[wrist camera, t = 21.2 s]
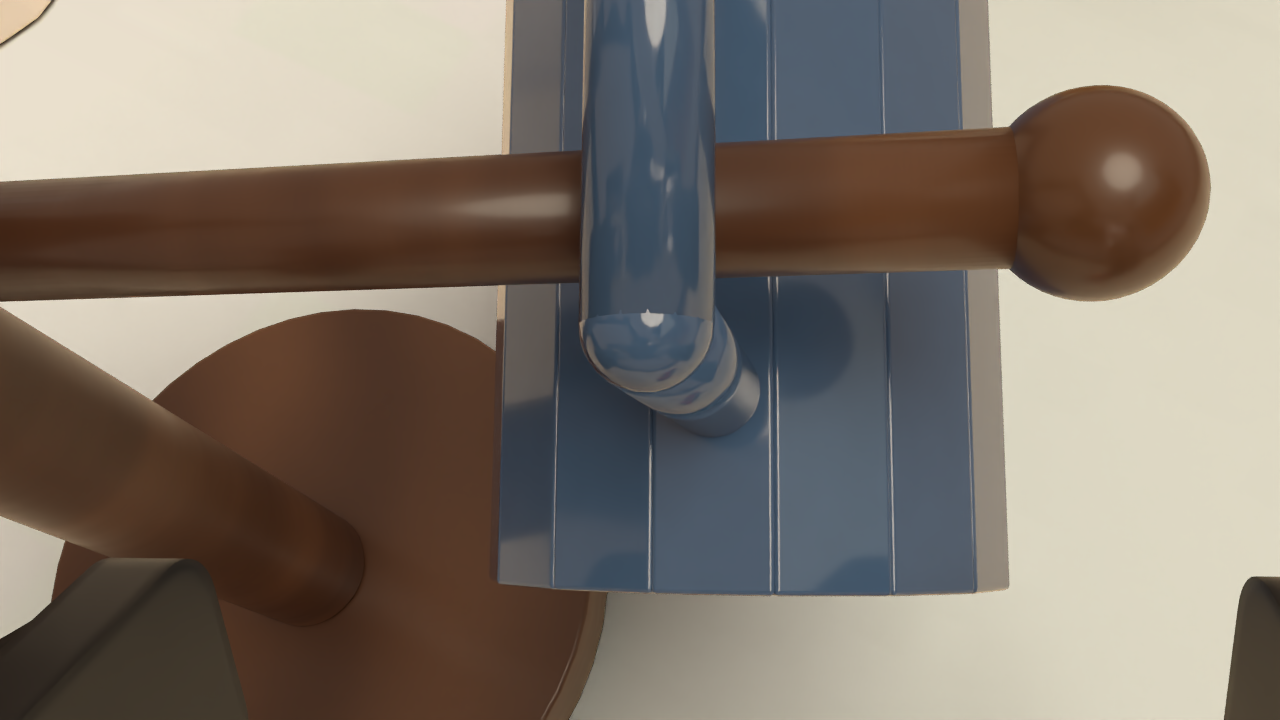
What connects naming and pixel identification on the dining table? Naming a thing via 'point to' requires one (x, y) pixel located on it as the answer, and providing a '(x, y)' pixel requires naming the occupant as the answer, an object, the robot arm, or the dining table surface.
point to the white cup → (18, 15)
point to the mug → (740, 318)
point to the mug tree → (468, 369)
